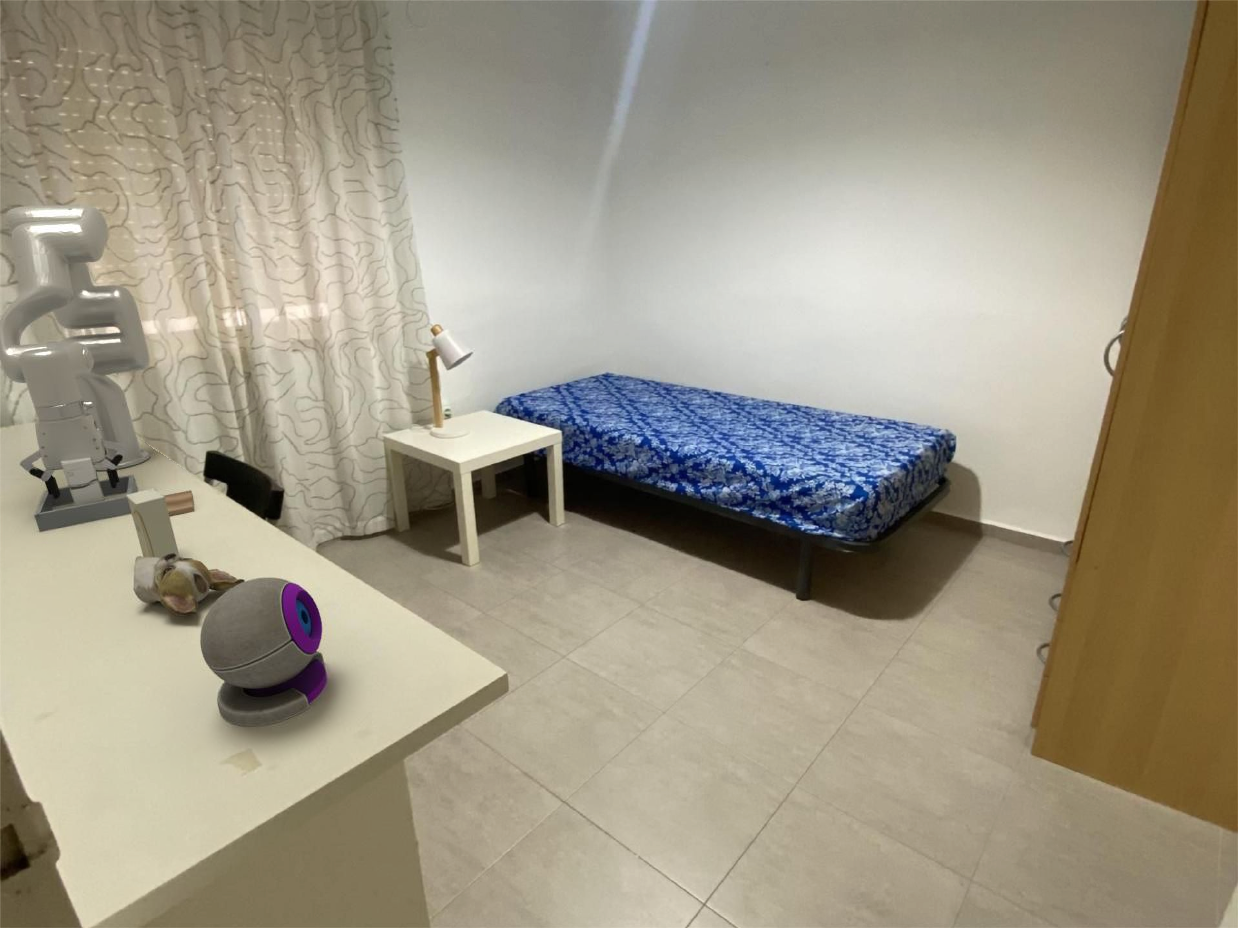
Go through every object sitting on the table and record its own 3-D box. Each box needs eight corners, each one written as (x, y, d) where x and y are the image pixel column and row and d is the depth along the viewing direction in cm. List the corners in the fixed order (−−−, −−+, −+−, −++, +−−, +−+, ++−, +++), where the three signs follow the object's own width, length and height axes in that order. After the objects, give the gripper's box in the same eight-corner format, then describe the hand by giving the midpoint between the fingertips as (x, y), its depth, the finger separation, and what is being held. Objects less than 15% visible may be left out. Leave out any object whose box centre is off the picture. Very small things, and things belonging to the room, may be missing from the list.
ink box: (108, 511, 141) (91, 458, 137) (78, 518, 138) (60, 464, 134) (105, 499, 147) (89, 448, 143) (76, 506, 144) (59, 453, 140)
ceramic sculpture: (164, 532, 109) (241, 546, 106) (175, 579, 113) (251, 594, 109) (101, 563, 100) (183, 580, 96) (115, 614, 103) (195, 631, 99)
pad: (143, 504, 144) (141, 499, 144) (192, 494, 148) (191, 490, 148) (142, 521, 135) (140, 517, 135) (194, 511, 140) (193, 506, 139)
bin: (50, 505, 145) (45, 490, 143) (137, 489, 152) (133, 474, 151) (39, 531, 132) (33, 515, 131) (135, 512, 140) (131, 496, 139)
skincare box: (143, 558, 120) (124, 494, 116) (171, 549, 123) (154, 487, 119) (153, 569, 116) (134, 503, 112) (182, 559, 119) (164, 495, 115)
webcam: (320, 716, 80) (296, 606, 75) (202, 735, 78) (168, 622, 73) (339, 652, 92) (319, 553, 87) (237, 666, 90) (210, 565, 85)
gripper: (114, 400, 142) (137, 477, 148) (8, 414, 134) (36, 495, 139) (112, 408, 136) (135, 487, 142) (0, 423, 128) (30, 507, 133)
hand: (86, 491), depth 141 cm, fingers open, 9 cm apart
